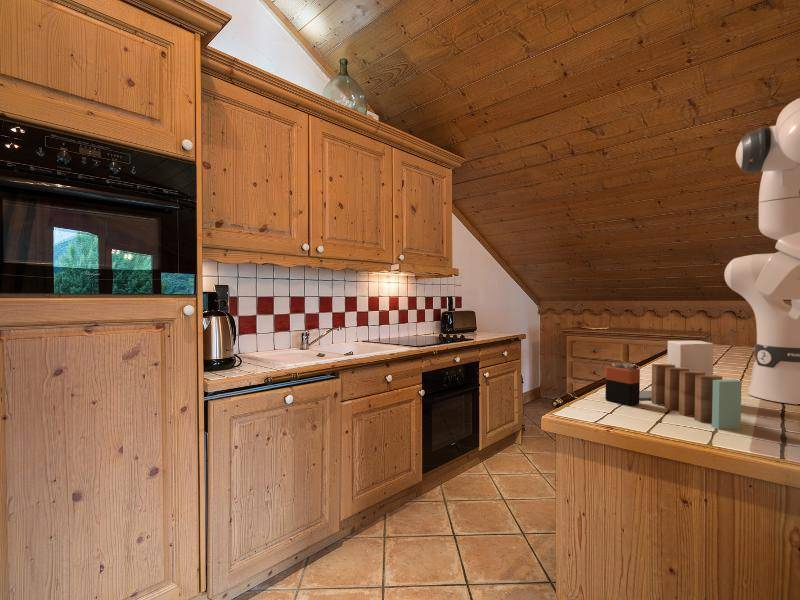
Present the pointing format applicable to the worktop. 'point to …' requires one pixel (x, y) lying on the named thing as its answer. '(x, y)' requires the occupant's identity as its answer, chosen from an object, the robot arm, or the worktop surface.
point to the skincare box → (691, 355)
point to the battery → (622, 384)
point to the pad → (645, 395)
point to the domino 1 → (659, 382)
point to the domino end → (726, 404)
